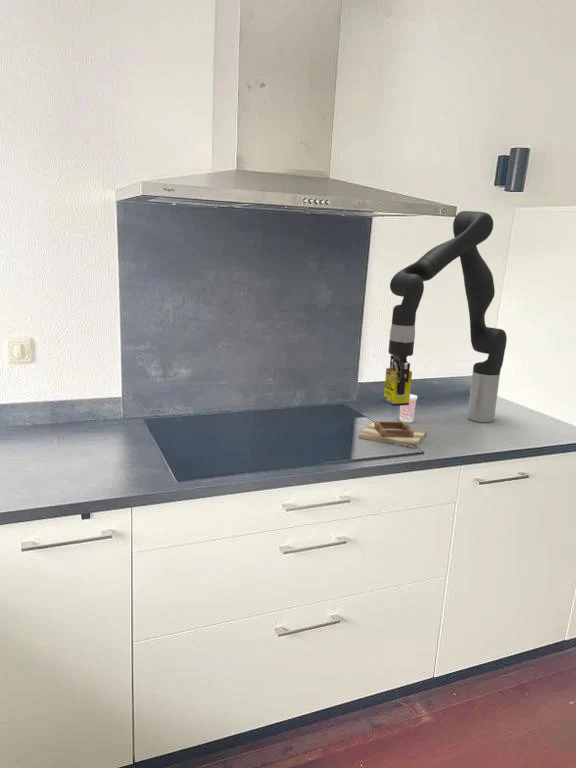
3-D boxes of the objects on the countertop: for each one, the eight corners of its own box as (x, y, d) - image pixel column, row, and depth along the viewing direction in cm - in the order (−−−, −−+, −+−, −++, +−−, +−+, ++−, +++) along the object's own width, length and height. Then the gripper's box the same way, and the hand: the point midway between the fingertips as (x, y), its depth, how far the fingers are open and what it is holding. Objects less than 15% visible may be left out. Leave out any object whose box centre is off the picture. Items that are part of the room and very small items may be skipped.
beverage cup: (413, 424, 203) (417, 384, 200) (396, 421, 205) (399, 382, 202) (416, 419, 209) (419, 381, 206) (398, 417, 211) (402, 379, 208)
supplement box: (382, 401, 187) (385, 367, 185) (398, 400, 190) (402, 367, 187) (392, 406, 182) (396, 371, 179) (409, 405, 184) (412, 371, 182)
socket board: (372, 426, 199) (373, 416, 198) (426, 435, 191) (427, 425, 190) (358, 438, 185) (359, 427, 184) (415, 448, 178) (416, 437, 177)
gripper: (384, 335, 188) (380, 386, 191) (396, 342, 174) (391, 396, 178) (407, 336, 188) (402, 386, 192) (420, 343, 174) (415, 397, 178)
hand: (397, 391), depth 185 cm, fingers closed on supplement box, 7 cm apart
